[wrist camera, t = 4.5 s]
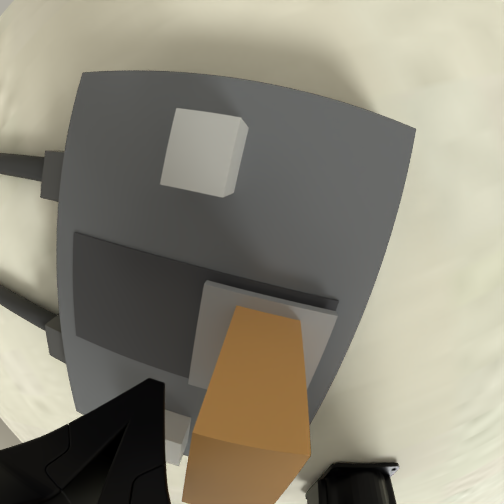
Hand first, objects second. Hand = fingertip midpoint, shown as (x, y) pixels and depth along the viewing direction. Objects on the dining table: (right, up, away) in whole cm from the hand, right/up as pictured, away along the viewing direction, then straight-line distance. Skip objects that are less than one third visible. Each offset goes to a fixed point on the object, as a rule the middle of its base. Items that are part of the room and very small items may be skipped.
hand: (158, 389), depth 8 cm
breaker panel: (0, +2, +7) cm, 7 cm away
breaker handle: (+3, 0, +3) cm, 5 cm away
